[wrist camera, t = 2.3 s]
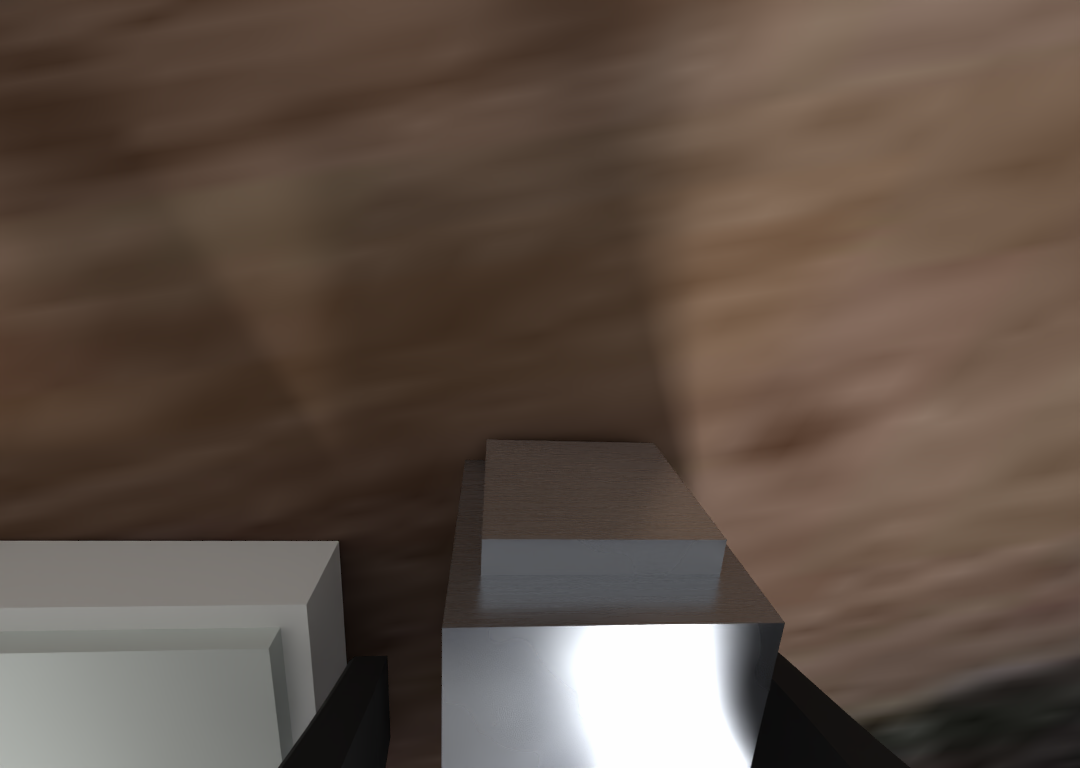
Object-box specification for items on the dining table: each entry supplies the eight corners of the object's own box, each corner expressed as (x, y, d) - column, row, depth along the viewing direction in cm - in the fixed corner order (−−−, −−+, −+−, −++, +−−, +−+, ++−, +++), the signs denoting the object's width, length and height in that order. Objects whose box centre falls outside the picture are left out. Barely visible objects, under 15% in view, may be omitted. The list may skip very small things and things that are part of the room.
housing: (624, 744, 14) (692, 1013, 9) (460, 751, 13) (440, 1036, 9) (667, 436, 11) (793, 585, 6) (466, 432, 11) (442, 587, 6)
